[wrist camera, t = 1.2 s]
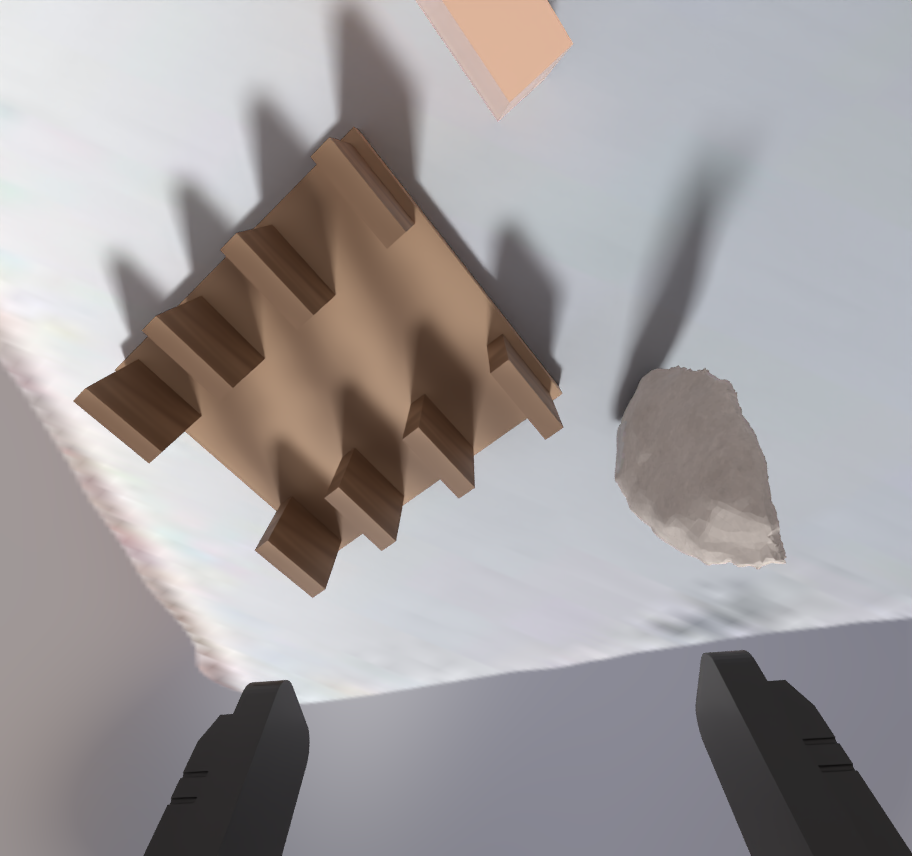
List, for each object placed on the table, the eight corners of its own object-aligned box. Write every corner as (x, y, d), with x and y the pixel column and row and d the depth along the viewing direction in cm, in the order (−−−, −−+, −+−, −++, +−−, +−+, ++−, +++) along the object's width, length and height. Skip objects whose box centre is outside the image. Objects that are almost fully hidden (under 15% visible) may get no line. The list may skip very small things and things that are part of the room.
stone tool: (643, 333, 32) (773, 445, 19) (692, 344, 33) (853, 462, 19) (595, 459, 36) (673, 625, 23) (638, 468, 37) (741, 637, 23)
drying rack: (357, 128, 28) (331, 116, 22) (559, 386, 34) (577, 427, 28) (125, 364, 34) (58, 400, 28) (333, 546, 40) (311, 606, 34)
